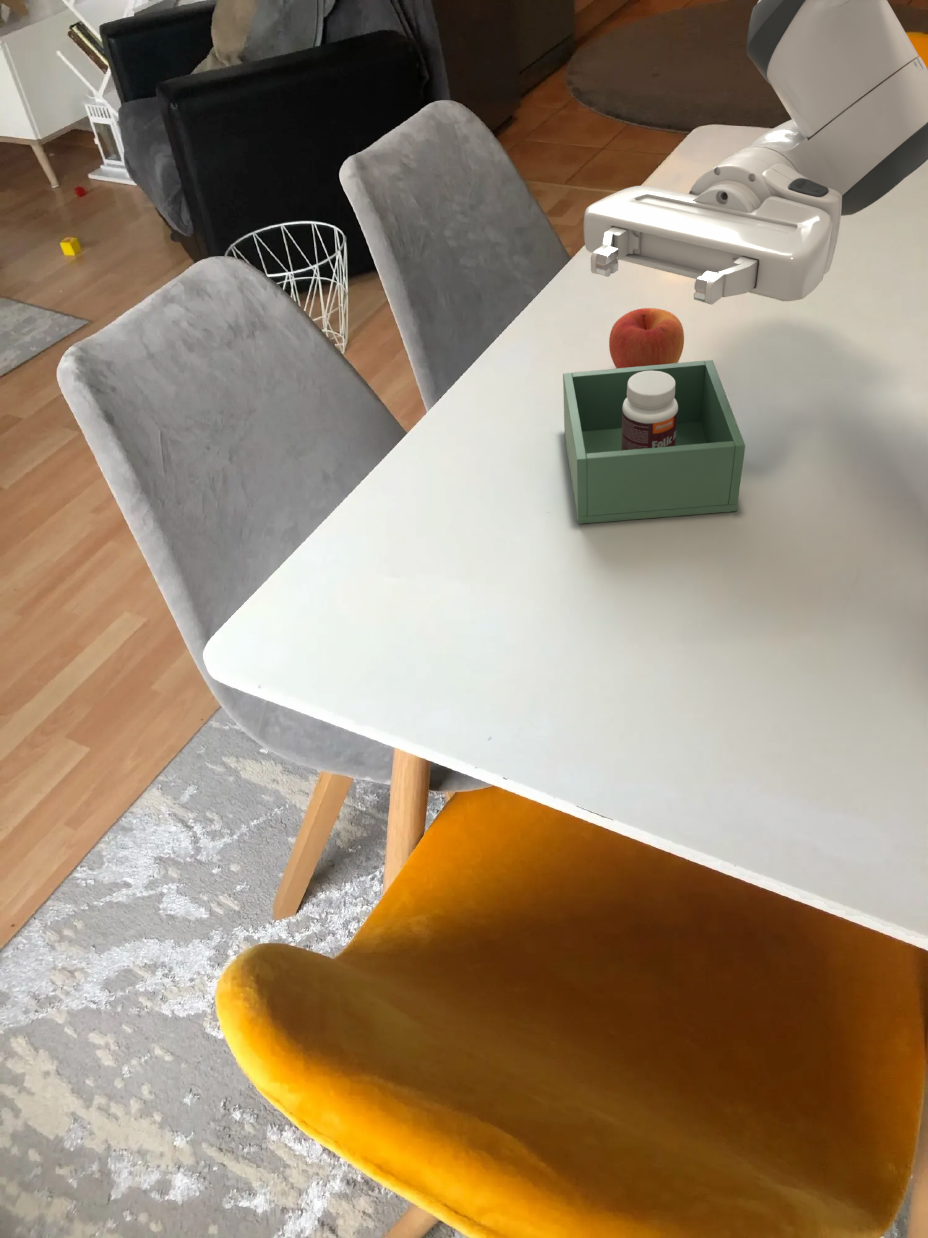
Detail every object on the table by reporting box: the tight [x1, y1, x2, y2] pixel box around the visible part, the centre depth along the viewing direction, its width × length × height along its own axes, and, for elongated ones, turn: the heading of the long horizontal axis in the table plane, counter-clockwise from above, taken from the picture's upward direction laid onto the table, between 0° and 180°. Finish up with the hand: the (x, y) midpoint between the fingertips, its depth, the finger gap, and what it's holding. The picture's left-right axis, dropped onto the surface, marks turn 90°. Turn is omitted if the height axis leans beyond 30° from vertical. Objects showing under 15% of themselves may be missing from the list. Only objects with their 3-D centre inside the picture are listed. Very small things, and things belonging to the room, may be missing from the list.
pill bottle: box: [621, 371, 678, 451], centre depth 84 cm, size 5×5×8 cm
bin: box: [562, 359, 746, 525], centre depth 85 cm, size 14×14×7 cm
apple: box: [608, 307, 685, 369], centre depth 96 cm, size 7×7×8 cm
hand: (648, 279), depth 74 cm, fingers open, 8 cm apart
